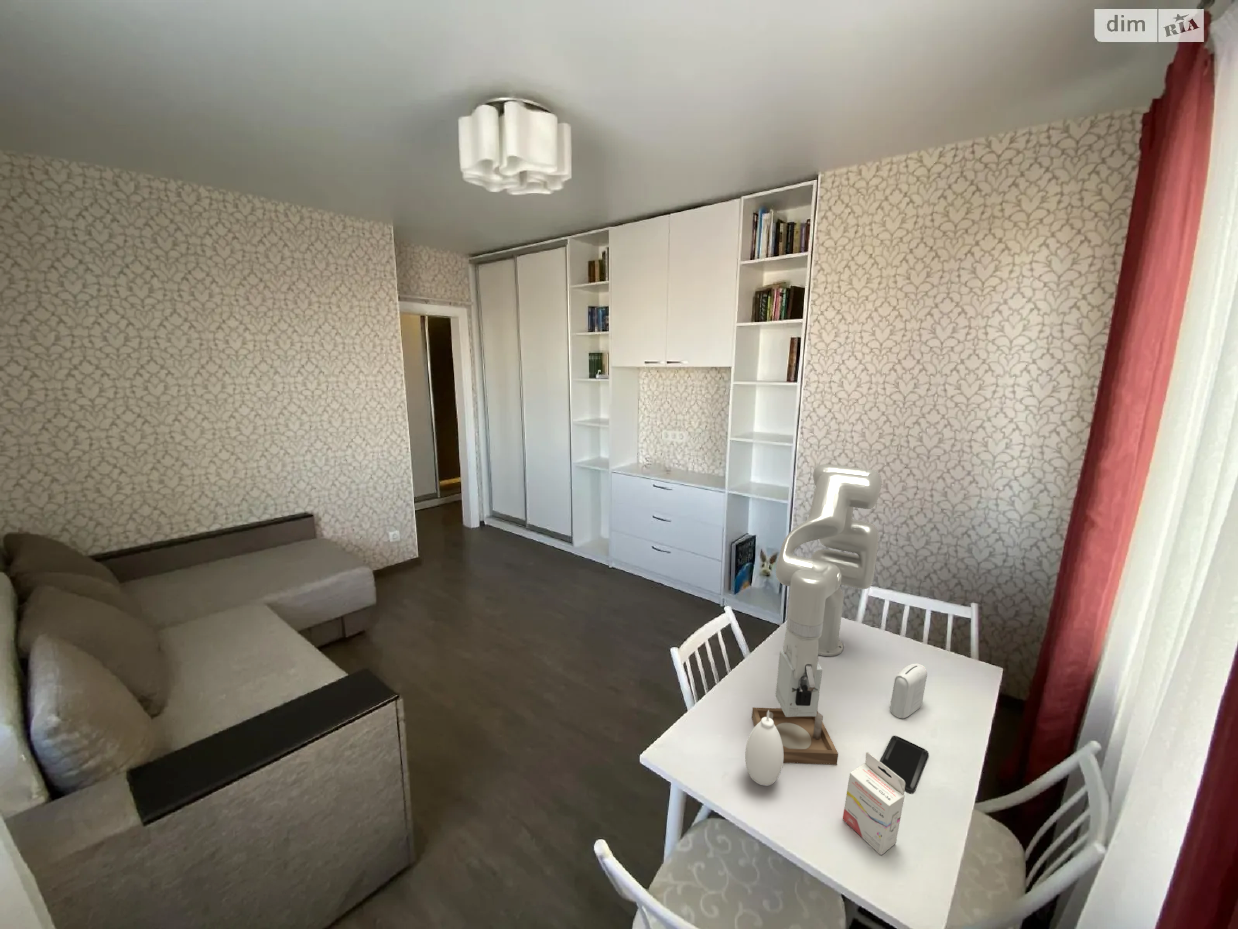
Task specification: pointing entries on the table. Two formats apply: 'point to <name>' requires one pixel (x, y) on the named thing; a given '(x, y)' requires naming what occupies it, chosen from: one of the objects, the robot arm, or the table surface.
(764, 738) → the air blower bulb
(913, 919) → the table surface
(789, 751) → the caddy
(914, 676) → the white rounded block
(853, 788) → the ink cartridge box
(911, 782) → the phone
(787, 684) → the supplement box
